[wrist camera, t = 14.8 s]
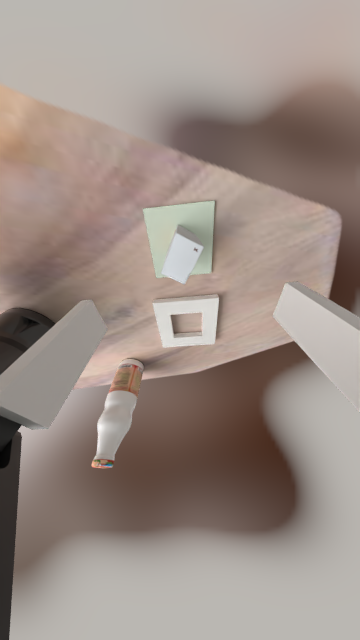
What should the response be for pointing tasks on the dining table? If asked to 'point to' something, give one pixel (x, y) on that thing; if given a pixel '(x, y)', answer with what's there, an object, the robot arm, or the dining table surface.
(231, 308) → the dining table surface
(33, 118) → the dining table surface
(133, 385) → the fruit juice
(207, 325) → the white frame
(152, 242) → the pad
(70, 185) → the dining table surface
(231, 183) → the dining table surface
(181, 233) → the skincare box
